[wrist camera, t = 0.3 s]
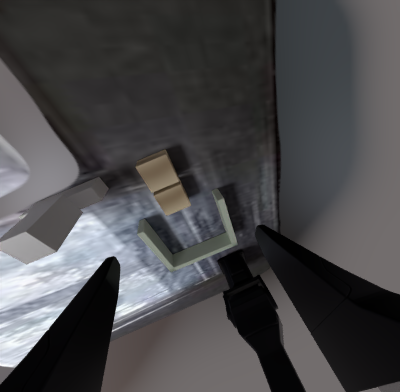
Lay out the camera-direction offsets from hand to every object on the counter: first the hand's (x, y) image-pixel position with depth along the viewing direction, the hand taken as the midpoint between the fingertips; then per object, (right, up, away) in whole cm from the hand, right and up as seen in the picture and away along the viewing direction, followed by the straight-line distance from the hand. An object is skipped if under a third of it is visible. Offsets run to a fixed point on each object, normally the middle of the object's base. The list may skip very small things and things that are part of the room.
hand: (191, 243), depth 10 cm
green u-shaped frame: (-1, -3, +19) cm, 19 cm away
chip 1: (-5, +7, +12) cm, 15 cm away
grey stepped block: (-17, +3, +11) cm, 20 cm away
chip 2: (-4, +4, +14) cm, 15 cm away
